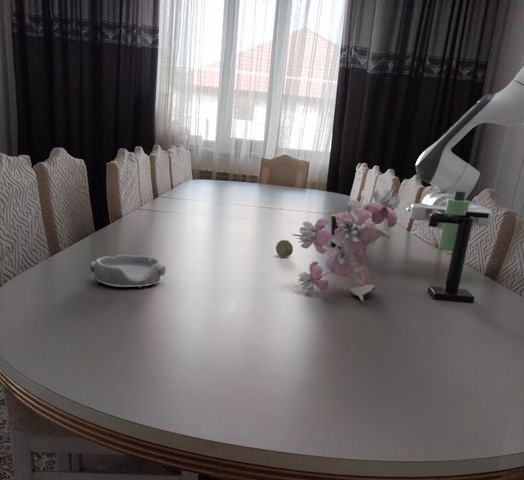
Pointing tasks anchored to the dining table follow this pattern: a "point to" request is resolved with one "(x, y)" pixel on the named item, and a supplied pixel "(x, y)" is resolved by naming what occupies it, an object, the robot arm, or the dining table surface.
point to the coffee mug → (333, 227)
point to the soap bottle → (449, 229)
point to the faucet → (455, 256)
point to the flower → (348, 241)
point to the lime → (284, 248)
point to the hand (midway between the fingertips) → (456, 218)
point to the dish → (128, 270)
